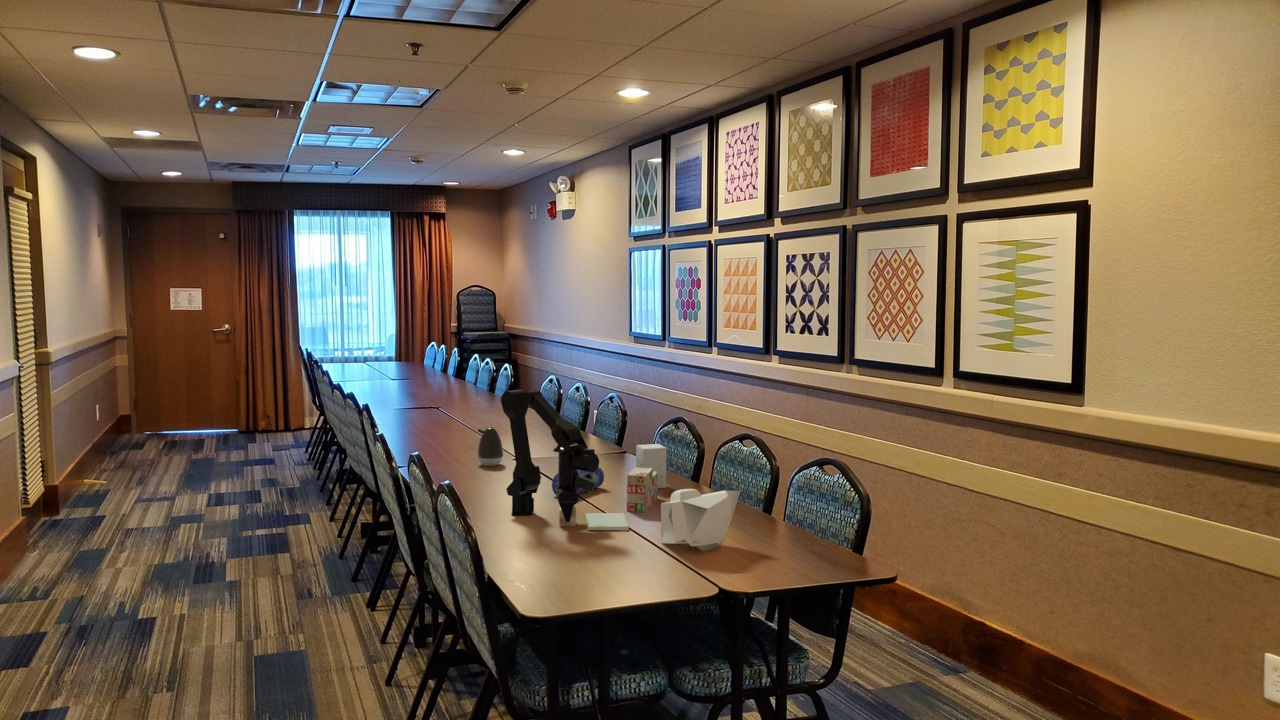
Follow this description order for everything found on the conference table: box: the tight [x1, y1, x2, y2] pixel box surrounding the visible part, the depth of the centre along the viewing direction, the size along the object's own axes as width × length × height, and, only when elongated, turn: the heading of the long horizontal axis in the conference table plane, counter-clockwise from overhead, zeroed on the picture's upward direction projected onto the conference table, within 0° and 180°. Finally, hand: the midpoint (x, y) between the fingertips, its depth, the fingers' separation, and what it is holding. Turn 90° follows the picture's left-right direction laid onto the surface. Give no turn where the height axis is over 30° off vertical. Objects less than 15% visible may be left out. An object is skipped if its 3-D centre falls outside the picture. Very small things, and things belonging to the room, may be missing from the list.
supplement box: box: [635, 443, 667, 489], centre depth 335 cm, size 9×9×15 cm
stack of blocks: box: [626, 466, 658, 513], centre depth 308 cm, size 21×6×12 cm, turn 168°
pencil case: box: [551, 466, 605, 497], centre depth 324 cm, size 22×9×10 cm, turn 147°
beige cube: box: [558, 505, 577, 527], centre depth 281 cm, size 5×5×5 cm
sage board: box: [585, 512, 629, 531], centre depth 283 cm, size 12×16×1 cm
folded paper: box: [660, 488, 742, 553], centre depth 260 cm, size 17×24×17 cm
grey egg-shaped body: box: [477, 427, 504, 467], centre depth 369 cm, size 10×10×15 cm
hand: (567, 518), depth 282 cm, fingers open, 9 cm apart
